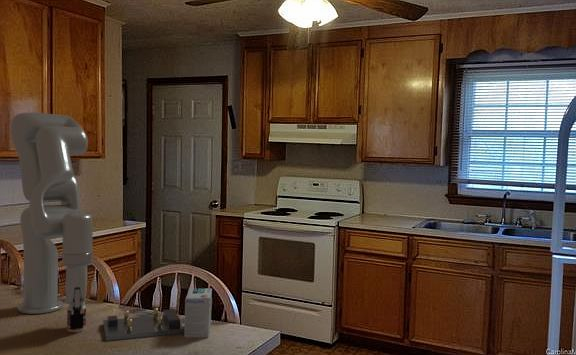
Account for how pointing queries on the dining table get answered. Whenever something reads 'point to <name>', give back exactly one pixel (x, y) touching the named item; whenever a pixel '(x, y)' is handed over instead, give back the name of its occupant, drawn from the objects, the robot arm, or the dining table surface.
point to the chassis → (142, 325)
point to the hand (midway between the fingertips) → (76, 324)
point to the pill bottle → (69, 318)
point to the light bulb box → (198, 313)
